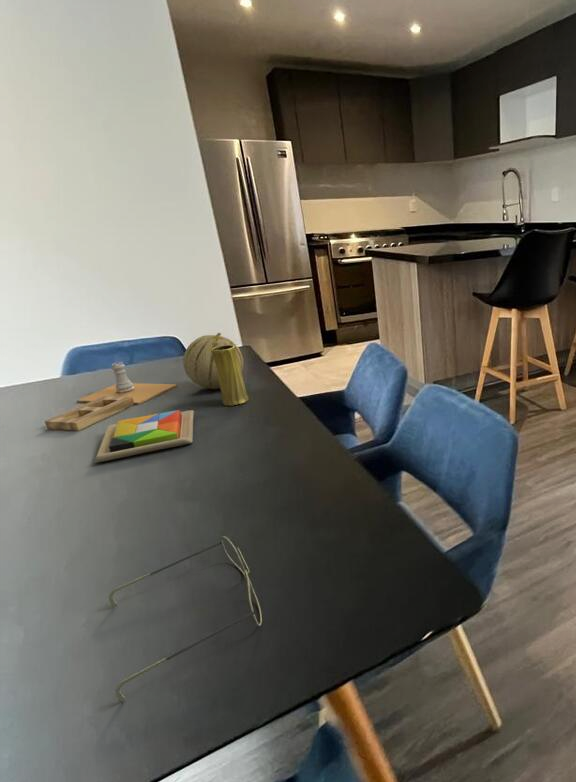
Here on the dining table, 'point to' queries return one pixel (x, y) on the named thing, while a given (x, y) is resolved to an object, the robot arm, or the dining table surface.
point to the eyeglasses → (113, 603)
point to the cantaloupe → (206, 360)
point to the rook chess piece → (122, 379)
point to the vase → (229, 375)
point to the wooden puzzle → (146, 435)
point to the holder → (89, 413)
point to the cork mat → (132, 392)
